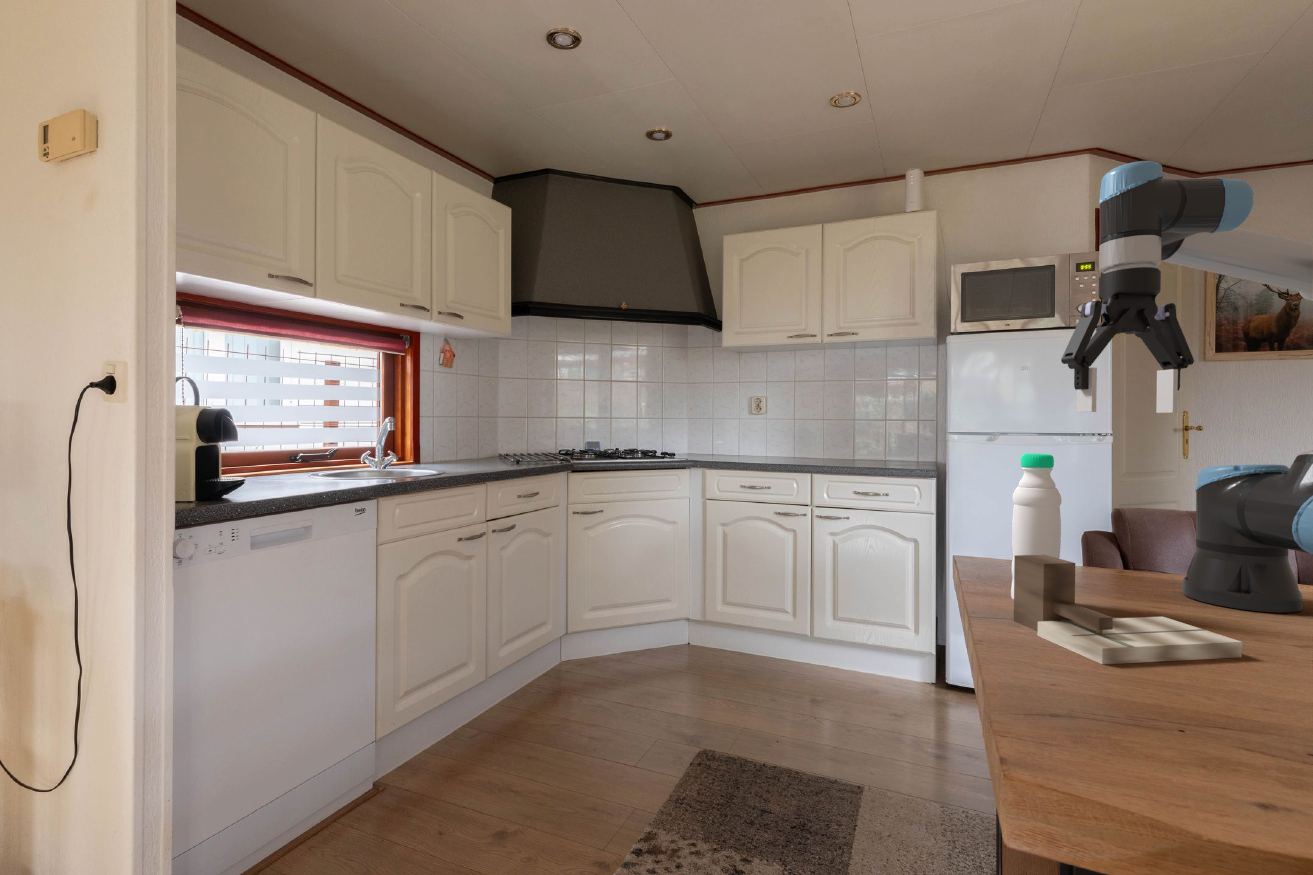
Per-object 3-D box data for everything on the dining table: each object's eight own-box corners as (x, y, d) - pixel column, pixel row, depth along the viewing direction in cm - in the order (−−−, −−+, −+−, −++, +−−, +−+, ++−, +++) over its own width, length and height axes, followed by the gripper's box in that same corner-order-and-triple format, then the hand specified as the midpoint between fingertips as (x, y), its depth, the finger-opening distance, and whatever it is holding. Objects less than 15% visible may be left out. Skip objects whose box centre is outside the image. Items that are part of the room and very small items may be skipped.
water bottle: (1056, 600, 109) (1058, 453, 108) (1063, 611, 102) (1065, 455, 102) (1009, 595, 112) (1011, 452, 111) (1012, 605, 105) (1014, 454, 105)
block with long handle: (1043, 619, 98) (1044, 554, 97) (1122, 651, 84) (1123, 575, 84) (1013, 621, 97) (1014, 555, 97) (1088, 653, 83) (1089, 576, 83)
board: (1162, 630, 93) (1162, 615, 93) (1241, 657, 82) (1242, 641, 82) (1037, 635, 90) (1037, 620, 90) (1102, 664, 79) (1102, 647, 79)
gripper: (1178, 280, 102) (1176, 413, 102) (1035, 274, 98) (1033, 412, 98) (1226, 268, 94) (1223, 412, 94) (1074, 261, 91) (1072, 411, 91)
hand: (1126, 412), depth 96 cm, fingers open, 13 cm apart
